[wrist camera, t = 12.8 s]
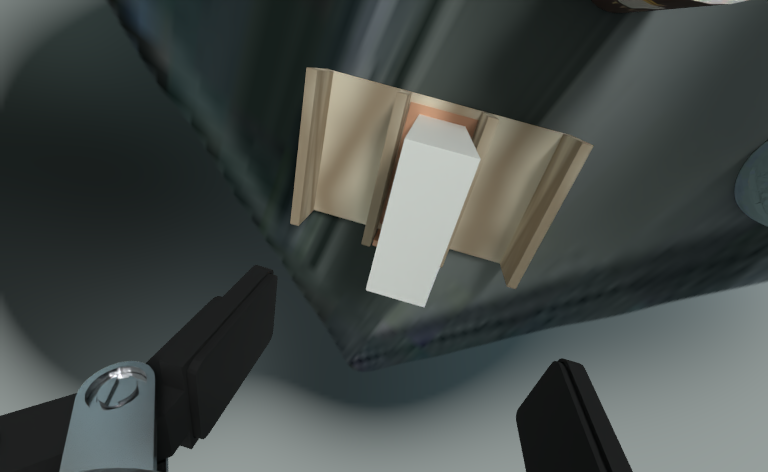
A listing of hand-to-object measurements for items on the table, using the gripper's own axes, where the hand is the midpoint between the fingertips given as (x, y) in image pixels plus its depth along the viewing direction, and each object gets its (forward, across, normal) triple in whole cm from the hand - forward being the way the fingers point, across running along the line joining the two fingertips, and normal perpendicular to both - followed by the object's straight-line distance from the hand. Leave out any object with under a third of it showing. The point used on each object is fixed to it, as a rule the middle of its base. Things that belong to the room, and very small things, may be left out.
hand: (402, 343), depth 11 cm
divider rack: (+22, 0, +1) cm, 22 cm away
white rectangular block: (+21, 0, 0) cm, 21 cm away
